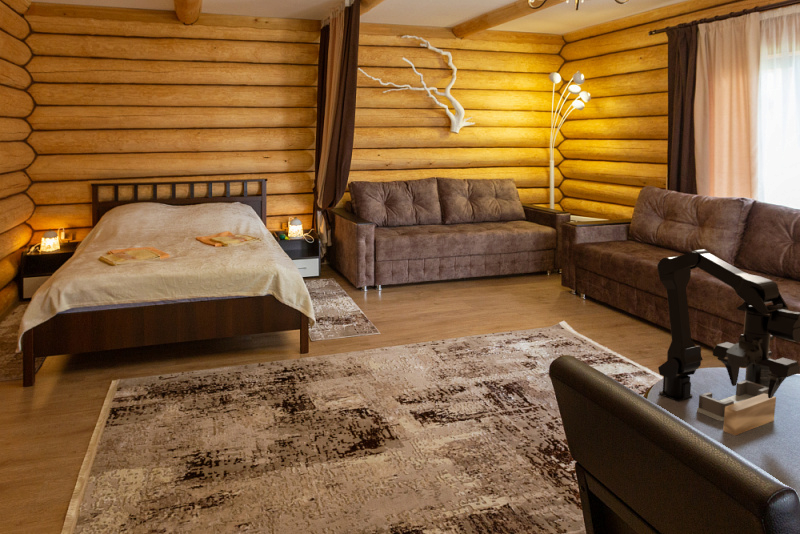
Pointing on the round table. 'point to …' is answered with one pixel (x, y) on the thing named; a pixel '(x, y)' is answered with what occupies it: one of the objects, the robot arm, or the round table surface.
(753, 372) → the supplement bottle
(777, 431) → the round table surface
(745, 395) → the slat rail
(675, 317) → the robot arm
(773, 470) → the round table surface
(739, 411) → the slat
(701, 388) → the round table surface
